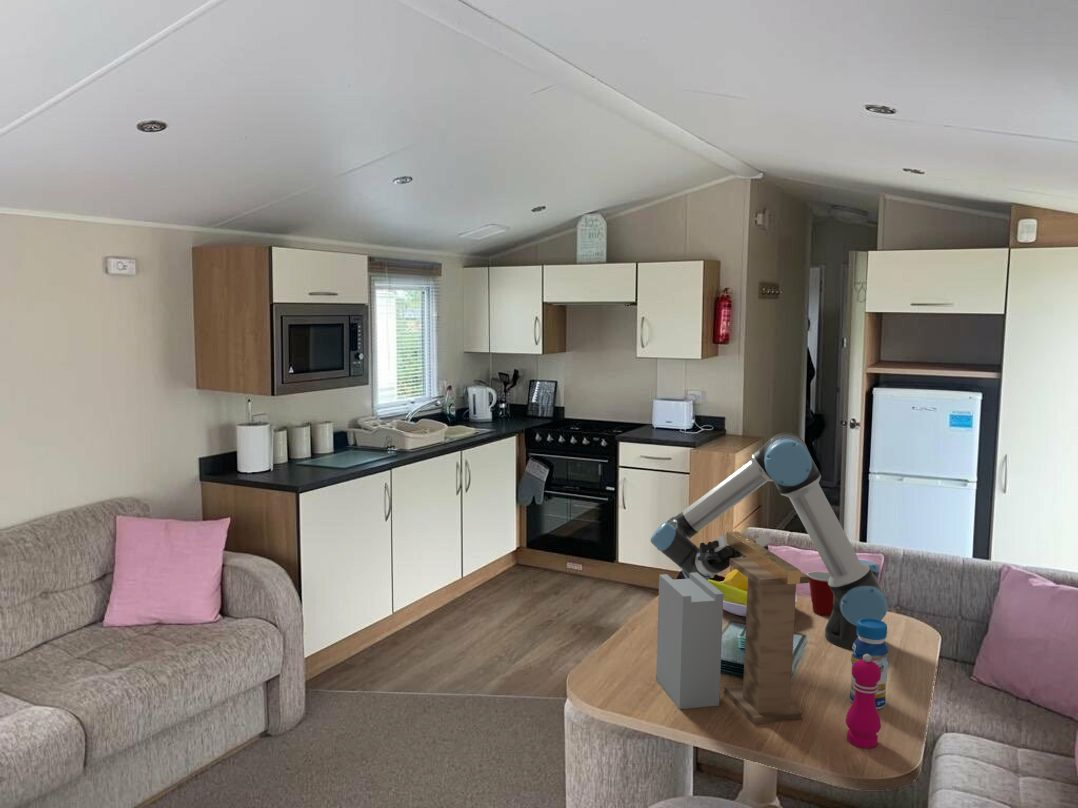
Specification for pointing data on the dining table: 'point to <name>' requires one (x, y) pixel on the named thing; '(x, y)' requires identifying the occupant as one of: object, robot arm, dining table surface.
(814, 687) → the dining table surface
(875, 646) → the beverage bottle
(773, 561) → the wooden bar
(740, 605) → the fruit bowl
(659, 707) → the dining table surface
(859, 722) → the pepper mill
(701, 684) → the block
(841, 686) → the dining table surface
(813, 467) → the robot arm
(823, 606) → the plastic cup
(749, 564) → the walnut stand
